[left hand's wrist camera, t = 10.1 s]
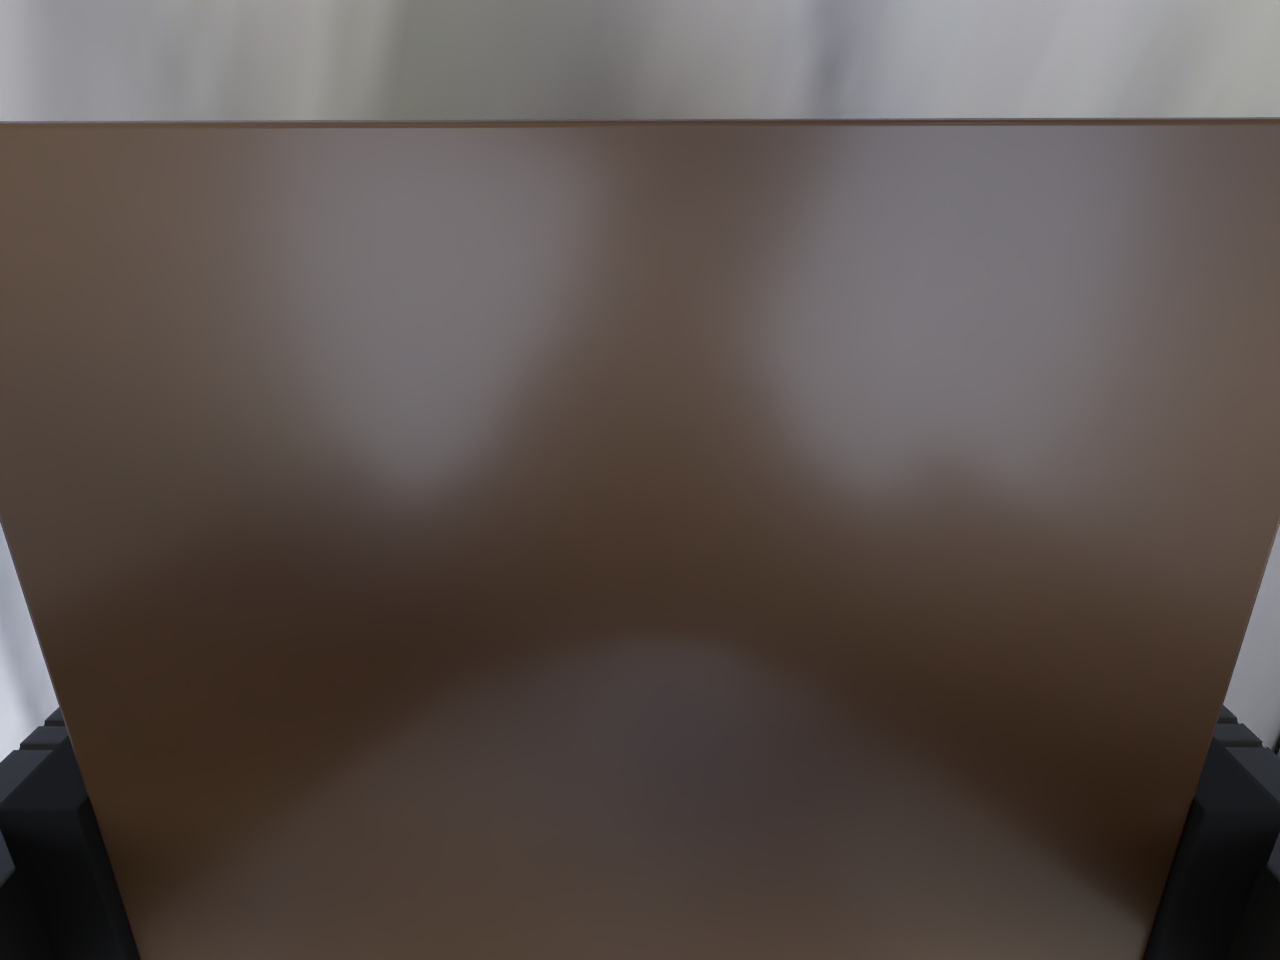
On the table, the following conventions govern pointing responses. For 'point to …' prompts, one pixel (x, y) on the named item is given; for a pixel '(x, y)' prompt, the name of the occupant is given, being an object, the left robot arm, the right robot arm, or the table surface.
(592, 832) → the thick board
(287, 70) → the table surface
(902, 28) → the table surface
